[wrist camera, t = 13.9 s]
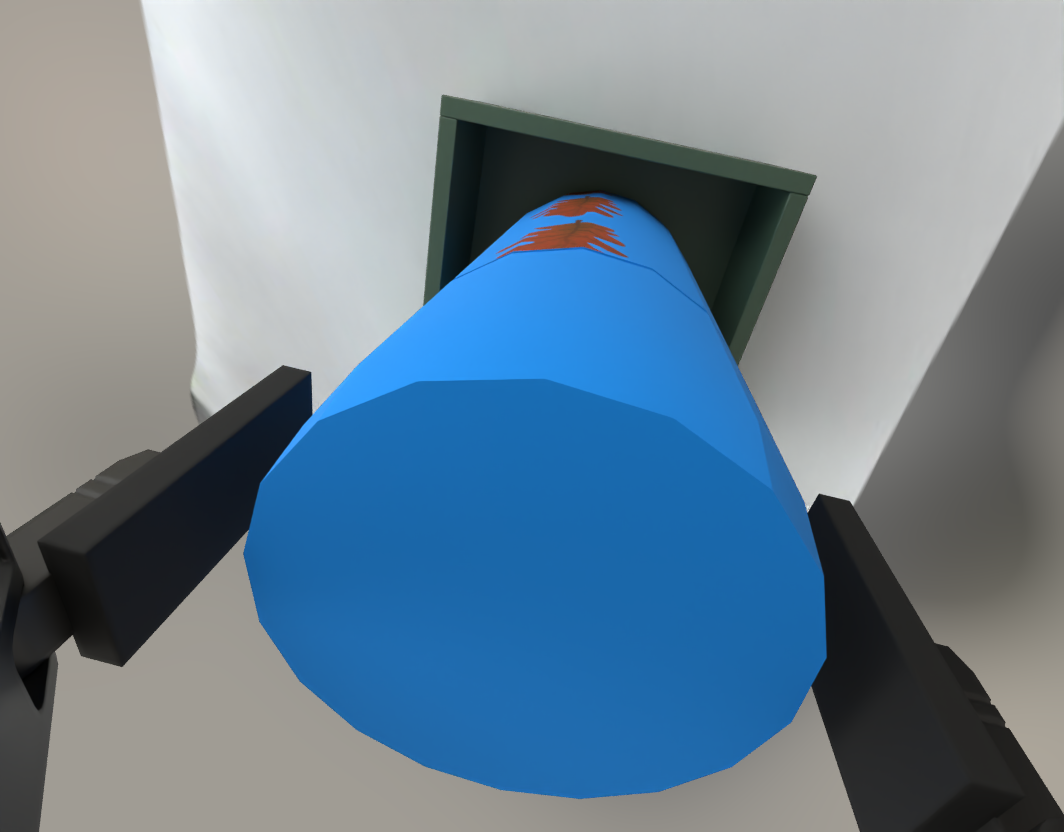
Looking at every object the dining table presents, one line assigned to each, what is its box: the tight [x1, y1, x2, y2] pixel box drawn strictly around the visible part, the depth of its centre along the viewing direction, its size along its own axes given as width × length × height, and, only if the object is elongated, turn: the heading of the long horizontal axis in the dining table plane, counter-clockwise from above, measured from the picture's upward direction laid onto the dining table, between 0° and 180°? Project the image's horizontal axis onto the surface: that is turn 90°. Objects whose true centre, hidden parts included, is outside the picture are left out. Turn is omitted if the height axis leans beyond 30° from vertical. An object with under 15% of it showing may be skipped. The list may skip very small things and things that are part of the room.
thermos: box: [243, 190, 827, 799], centre depth 21 cm, size 11×11×25 cm
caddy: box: [423, 95, 817, 366], centre depth 29 cm, size 16×16×7 cm
